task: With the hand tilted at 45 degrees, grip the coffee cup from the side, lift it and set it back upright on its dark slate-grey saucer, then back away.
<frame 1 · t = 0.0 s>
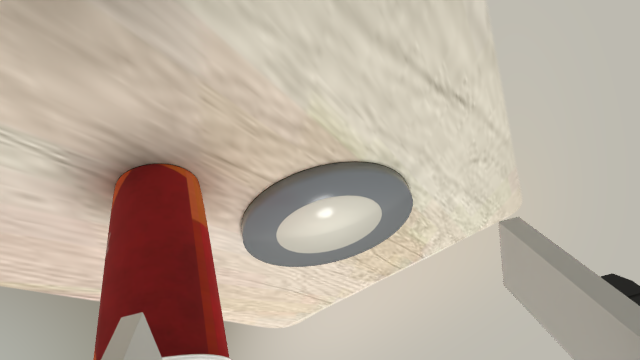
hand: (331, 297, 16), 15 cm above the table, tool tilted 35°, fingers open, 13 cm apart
coffee cup: (159, 186, 34), on the table
saucer: (326, 215, 42), on the table
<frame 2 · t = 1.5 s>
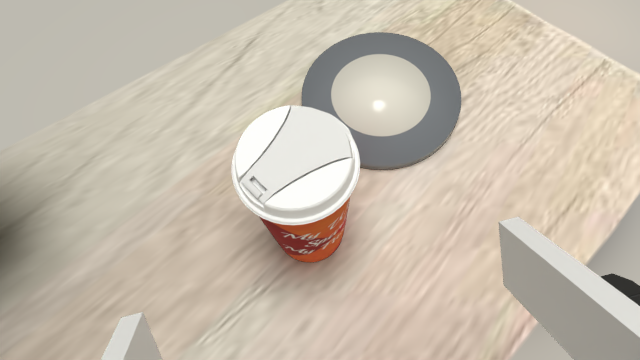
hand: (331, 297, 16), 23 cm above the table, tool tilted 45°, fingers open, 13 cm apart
coffee cup: (311, 230, 41), on the table
saucer: (379, 100, 47), on the table
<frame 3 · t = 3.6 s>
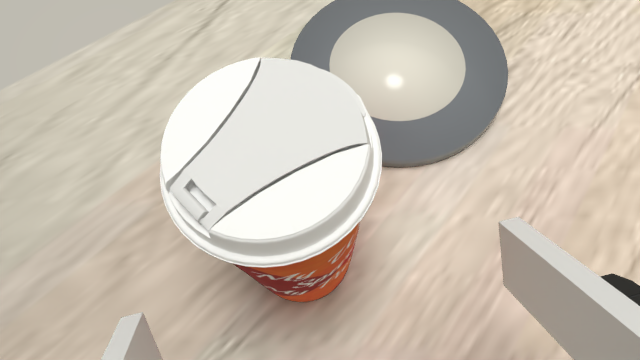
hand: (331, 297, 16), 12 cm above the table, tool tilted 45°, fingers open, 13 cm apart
coffee cup: (304, 255, 29), on the table
saucer: (395, 74, 35), on the table
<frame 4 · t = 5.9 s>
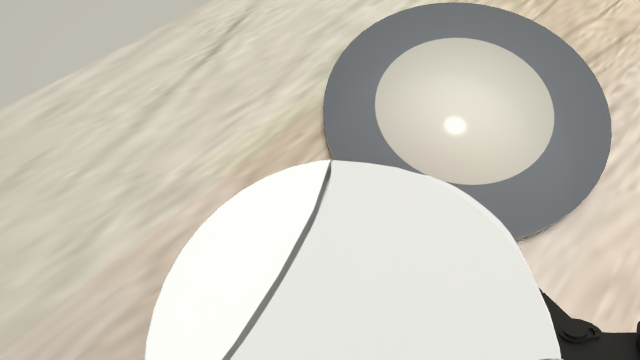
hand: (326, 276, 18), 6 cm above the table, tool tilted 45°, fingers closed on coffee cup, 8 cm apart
saucer: (458, 117, 27), on the table
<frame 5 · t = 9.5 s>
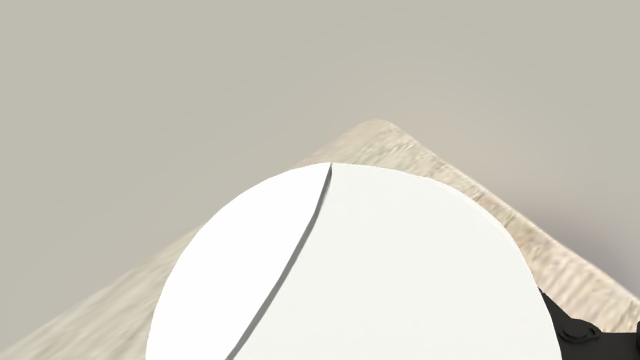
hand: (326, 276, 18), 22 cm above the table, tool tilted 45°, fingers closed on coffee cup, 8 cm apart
when the fingers open (8 cm above the table, at t = 13.3 s): coffee cup drops 1 cm, resting on saucer.
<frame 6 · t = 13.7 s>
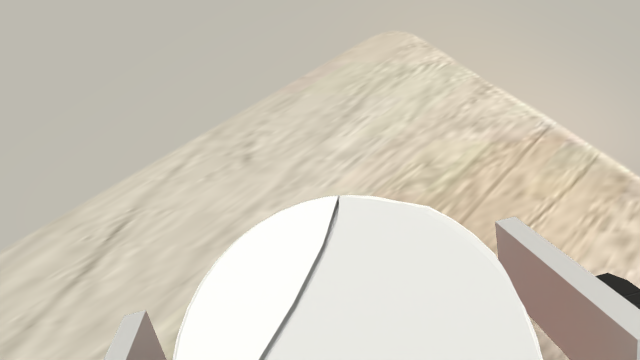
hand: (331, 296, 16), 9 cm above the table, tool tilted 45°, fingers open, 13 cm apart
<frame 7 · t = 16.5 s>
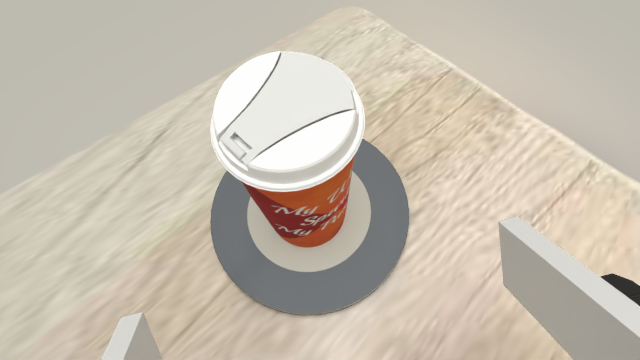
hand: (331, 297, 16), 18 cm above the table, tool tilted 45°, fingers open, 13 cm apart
coffee cup: (308, 212, 36), point 1 cm above the table, touching saucer
saucer: (309, 215, 37), on the table
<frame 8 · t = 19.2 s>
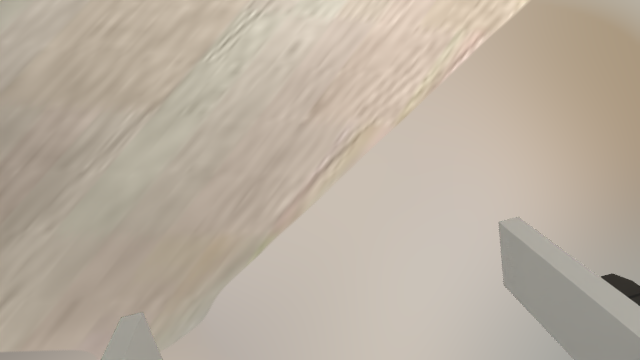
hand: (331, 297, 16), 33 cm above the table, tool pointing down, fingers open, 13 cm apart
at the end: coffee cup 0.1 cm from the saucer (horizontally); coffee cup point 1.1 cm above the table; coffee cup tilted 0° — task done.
